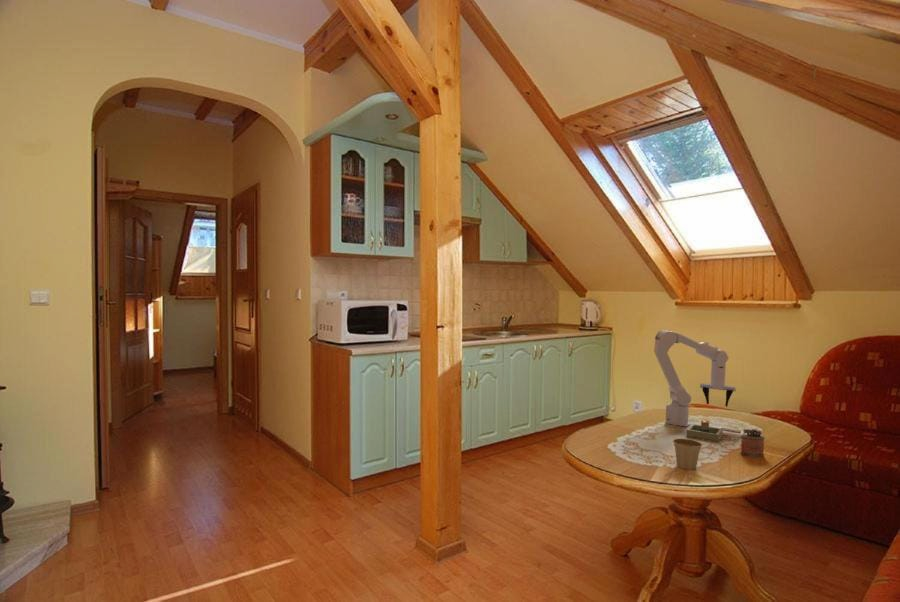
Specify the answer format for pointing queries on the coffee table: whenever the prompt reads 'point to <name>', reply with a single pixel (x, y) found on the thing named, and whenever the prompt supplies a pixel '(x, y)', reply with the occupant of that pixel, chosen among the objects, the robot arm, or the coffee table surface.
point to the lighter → (752, 443)
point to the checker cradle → (732, 433)
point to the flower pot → (687, 453)
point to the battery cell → (704, 426)
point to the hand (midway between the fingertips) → (717, 405)
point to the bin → (704, 433)
